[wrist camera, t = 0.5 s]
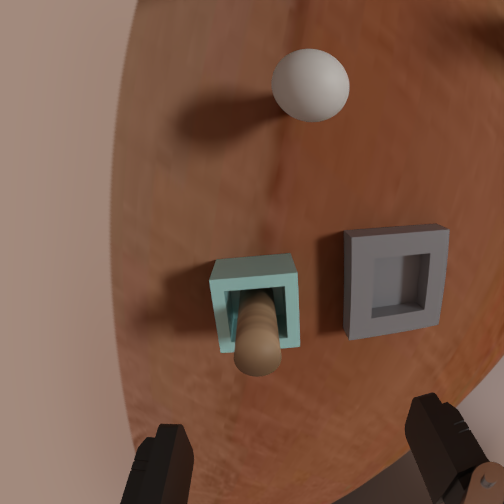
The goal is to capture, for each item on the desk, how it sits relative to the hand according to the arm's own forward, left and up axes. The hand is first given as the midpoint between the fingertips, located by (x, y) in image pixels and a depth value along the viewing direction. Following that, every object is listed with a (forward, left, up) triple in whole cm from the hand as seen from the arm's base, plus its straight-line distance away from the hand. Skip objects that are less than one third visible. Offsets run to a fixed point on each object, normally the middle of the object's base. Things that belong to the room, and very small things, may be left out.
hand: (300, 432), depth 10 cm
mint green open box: (+6, -2, -26) cm, 26 cm away
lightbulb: (-14, +4, -26) cm, 30 cm away
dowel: (+6, -2, -25) cm, 25 cm away
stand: (+6, +14, -26) cm, 30 cm away
